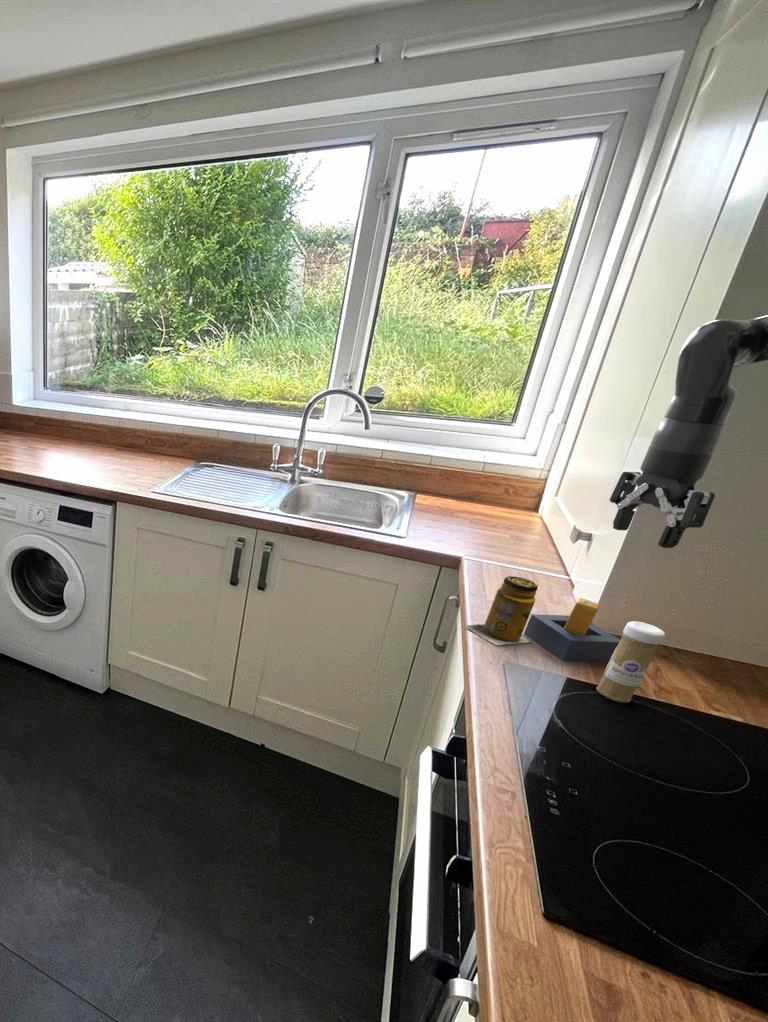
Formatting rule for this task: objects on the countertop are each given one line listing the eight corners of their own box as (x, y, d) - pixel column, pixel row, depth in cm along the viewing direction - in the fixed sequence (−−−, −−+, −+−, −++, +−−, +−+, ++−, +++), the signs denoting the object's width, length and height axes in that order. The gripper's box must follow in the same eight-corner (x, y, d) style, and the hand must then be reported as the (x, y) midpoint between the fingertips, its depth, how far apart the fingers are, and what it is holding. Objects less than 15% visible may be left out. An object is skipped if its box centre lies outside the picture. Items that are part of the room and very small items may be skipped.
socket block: (614, 663, 109) (624, 642, 107) (562, 661, 109) (571, 640, 107) (572, 635, 118) (580, 615, 116) (523, 633, 118) (531, 614, 116)
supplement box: (577, 654, 111) (598, 608, 107) (554, 646, 113) (574, 601, 109) (580, 648, 113) (600, 603, 109) (558, 641, 115) (577, 596, 111)
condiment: (530, 642, 114) (553, 588, 110) (495, 646, 113) (516, 591, 108) (497, 623, 121) (517, 571, 116) (463, 626, 119) (482, 574, 115)
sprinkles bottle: (602, 699, 98) (636, 630, 93) (590, 684, 102) (622, 617, 97) (636, 706, 96) (672, 637, 91) (623, 691, 100) (657, 623, 95)
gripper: (751, 458, 90) (704, 554, 96) (662, 439, 103) (625, 524, 109) (703, 457, 90) (659, 553, 96) (620, 438, 103) (586, 523, 109)
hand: (641, 538), depth 103 cm, fingers open, 8 cm apart
